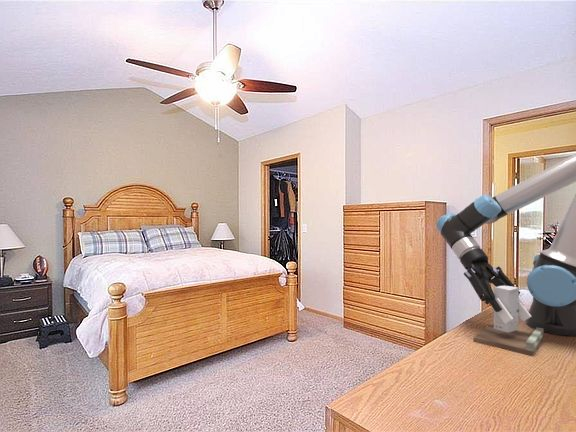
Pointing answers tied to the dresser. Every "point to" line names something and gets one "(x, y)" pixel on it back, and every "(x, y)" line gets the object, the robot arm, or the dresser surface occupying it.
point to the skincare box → (507, 307)
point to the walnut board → (511, 339)
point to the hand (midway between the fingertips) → (518, 320)
